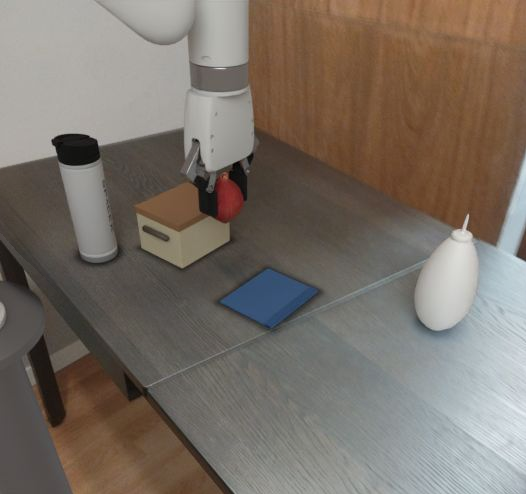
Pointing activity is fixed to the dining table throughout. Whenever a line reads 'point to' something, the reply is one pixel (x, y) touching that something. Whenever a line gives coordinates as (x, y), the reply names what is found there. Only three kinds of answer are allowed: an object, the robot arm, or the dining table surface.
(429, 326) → the white air blower bulb
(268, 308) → the cloth
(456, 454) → the dining table surface
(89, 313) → the dining table surface
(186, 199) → the bin
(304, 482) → the dining table surface
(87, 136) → the travel mug
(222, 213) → the red pomegranate
